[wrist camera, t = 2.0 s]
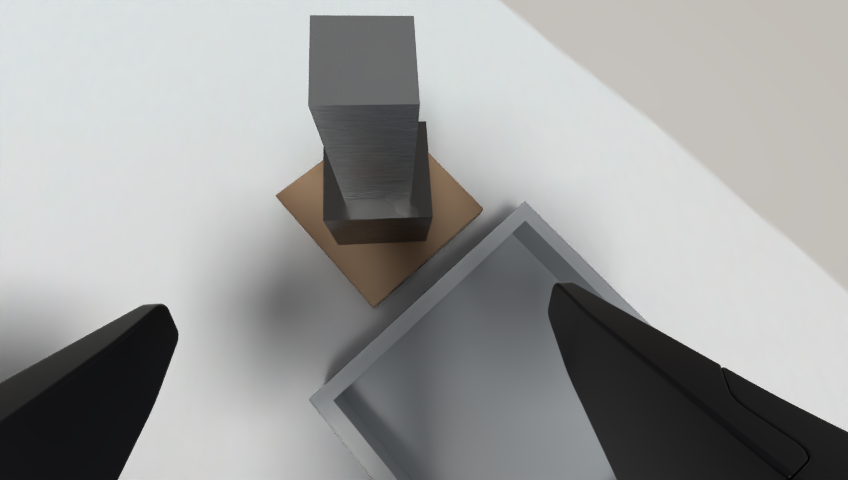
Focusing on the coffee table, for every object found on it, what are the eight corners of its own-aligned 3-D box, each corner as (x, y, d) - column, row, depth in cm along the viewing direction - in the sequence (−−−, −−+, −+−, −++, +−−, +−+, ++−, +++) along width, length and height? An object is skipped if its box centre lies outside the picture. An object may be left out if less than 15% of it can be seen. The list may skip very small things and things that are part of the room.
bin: (514, 625, 18) (541, 689, 15) (323, 389, 21) (308, 399, 17) (687, 402, 22) (740, 413, 18) (506, 220, 24) (524, 201, 21)
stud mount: (374, 308, 22) (368, 301, 18) (280, 201, 23) (256, 173, 19) (480, 214, 24) (496, 189, 20) (388, 120, 25) (386, 80, 21)
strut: (425, 241, 22) (456, 134, 11) (338, 245, 22) (271, 137, 10) (420, 162, 24) (442, -9, 12) (337, 165, 23) (278, -11, 12)
